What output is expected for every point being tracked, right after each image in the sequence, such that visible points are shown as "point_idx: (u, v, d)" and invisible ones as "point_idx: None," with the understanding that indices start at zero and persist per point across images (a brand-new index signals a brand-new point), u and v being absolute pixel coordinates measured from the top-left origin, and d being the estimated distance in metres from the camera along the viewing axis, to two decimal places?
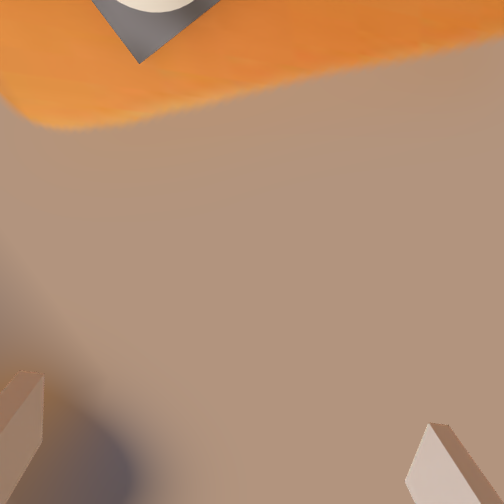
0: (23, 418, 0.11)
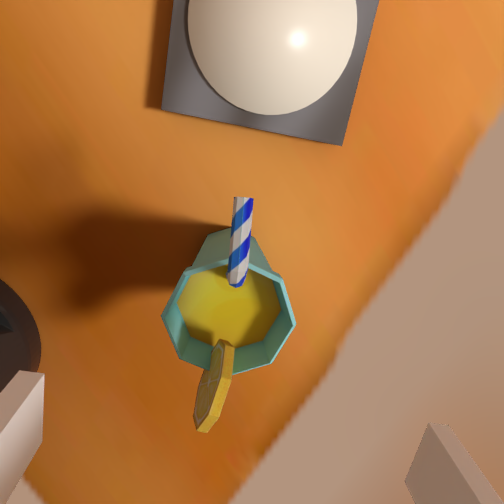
0: (23, 418, 0.11)
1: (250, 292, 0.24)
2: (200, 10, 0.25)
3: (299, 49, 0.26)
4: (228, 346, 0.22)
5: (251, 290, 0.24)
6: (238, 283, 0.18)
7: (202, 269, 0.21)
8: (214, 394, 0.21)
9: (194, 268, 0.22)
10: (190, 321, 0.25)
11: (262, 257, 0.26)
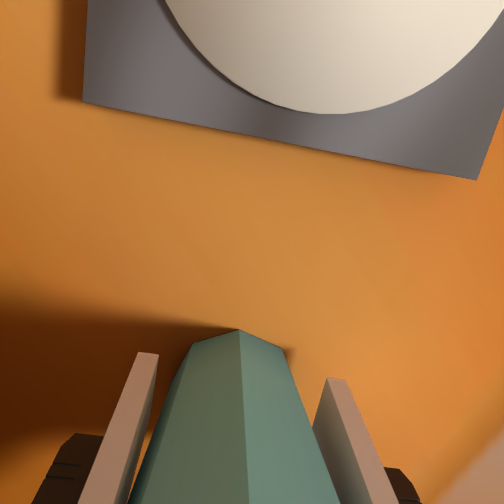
0: (150, 390, 0.13)
1: None
2: None
3: None
4: None
5: None
6: None
7: None
8: None
9: None
10: None
11: (313, 452, 0.11)
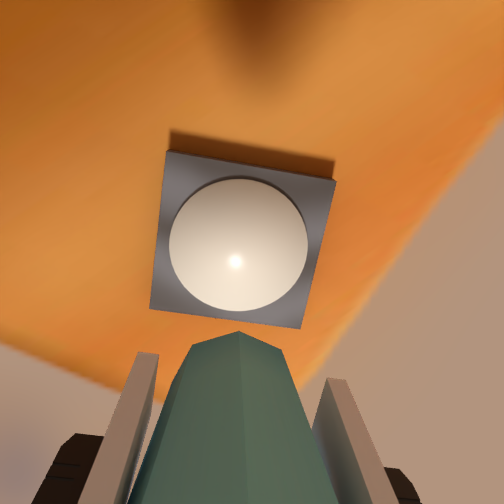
0: (150, 391, 0.13)
1: None
2: (247, 190, 0.30)
3: (222, 270, 0.32)
4: None
5: None
6: None
7: None
8: None
9: None
10: None
11: (313, 454, 0.11)
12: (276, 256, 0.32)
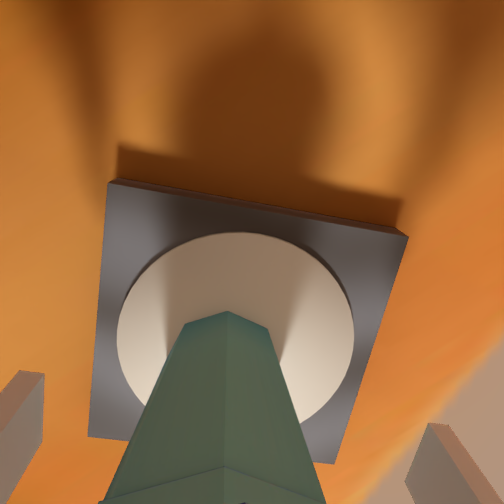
0: (23, 418, 0.11)
1: None
2: (254, 252, 0.17)
3: None
4: None
5: None
6: None
7: None
8: None
9: None
10: None
11: (288, 410, 0.12)
12: (300, 358, 0.19)
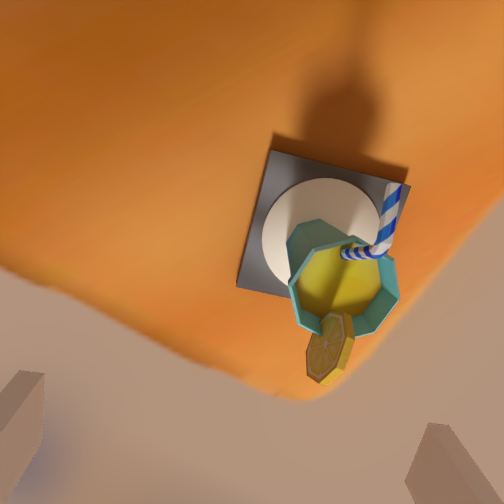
0: (23, 418, 0.11)
1: (357, 270, 0.28)
2: (336, 188, 0.35)
3: None
4: (346, 313, 0.26)
5: (358, 269, 0.28)
6: (382, 254, 0.22)
7: (329, 246, 0.25)
8: (340, 351, 0.24)
9: (321, 245, 0.26)
10: (303, 294, 0.28)
11: None
12: None
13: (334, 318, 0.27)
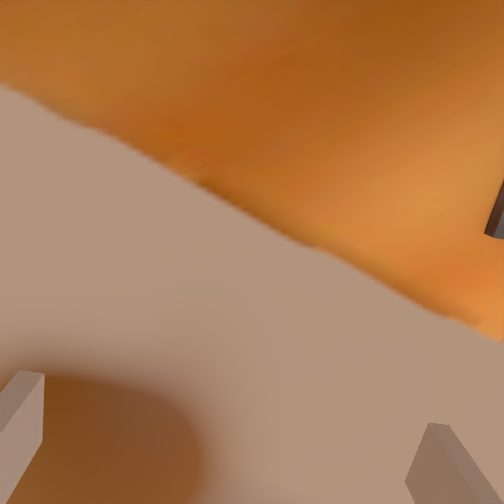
0: (23, 418, 0.11)
1: None
2: None
3: None
4: None
5: None
6: None
7: None
8: None
9: None
10: None
11: None
12: None
13: None
